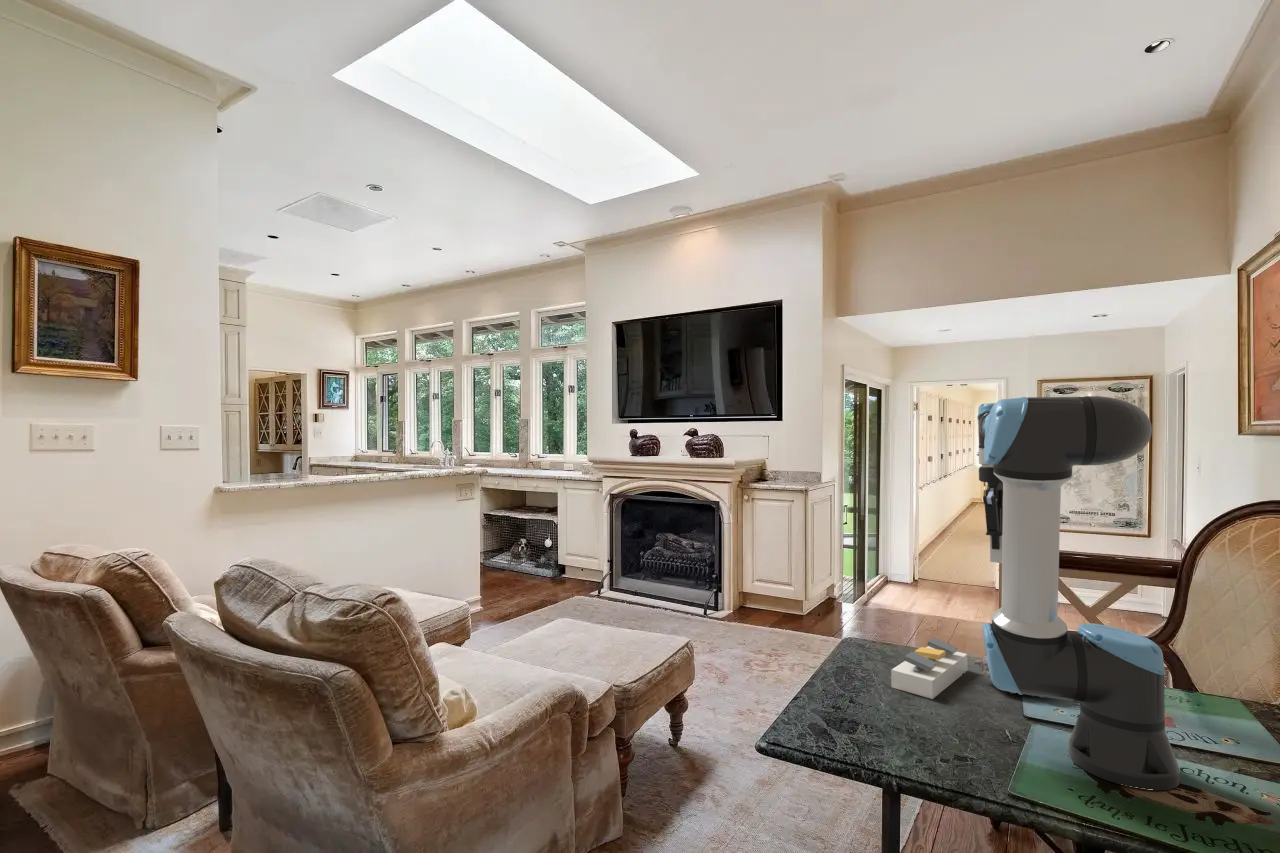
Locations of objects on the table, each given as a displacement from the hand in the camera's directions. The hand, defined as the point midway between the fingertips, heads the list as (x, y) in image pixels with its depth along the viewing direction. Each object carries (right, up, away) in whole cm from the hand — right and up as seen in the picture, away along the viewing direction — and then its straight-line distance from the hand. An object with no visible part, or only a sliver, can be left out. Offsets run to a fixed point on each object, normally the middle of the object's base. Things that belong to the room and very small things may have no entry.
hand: (997, 562), depth 151 cm
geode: (-1, -27, -12) cm, 29 cm away
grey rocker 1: (-24, -22, -10) cm, 34 cm away
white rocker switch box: (-17, -26, -4) cm, 32 cm away
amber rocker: (-19, -22, -5) cm, 29 cm away
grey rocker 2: (-14, -22, 0) cm, 26 cm away
